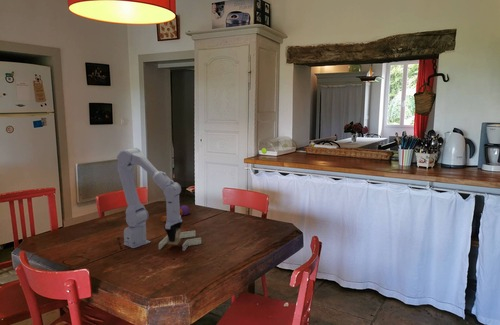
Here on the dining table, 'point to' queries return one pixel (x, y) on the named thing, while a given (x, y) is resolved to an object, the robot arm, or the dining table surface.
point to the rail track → (187, 242)
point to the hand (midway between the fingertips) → (173, 239)
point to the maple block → (177, 237)
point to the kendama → (183, 211)
